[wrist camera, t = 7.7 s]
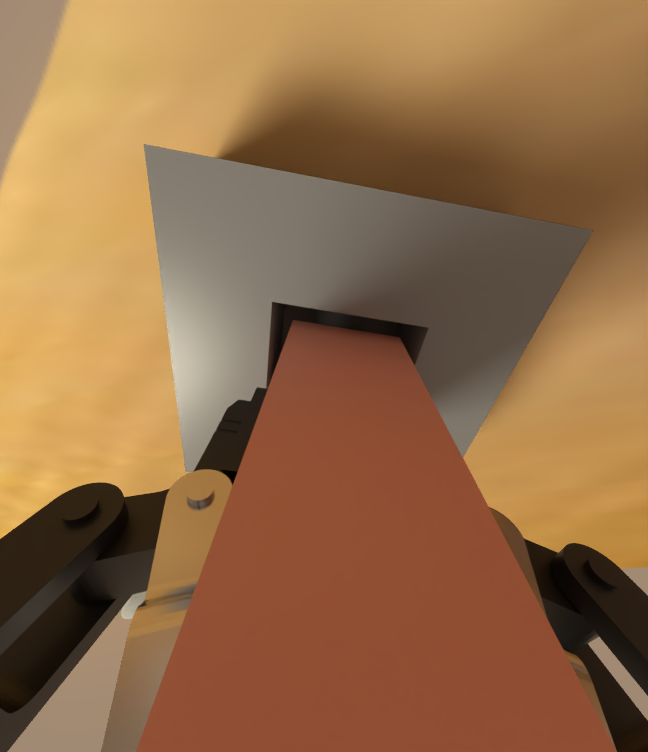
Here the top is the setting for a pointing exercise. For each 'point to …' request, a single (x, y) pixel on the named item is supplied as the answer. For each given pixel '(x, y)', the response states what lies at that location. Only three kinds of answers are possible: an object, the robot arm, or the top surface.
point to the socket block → (341, 282)
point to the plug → (362, 585)
